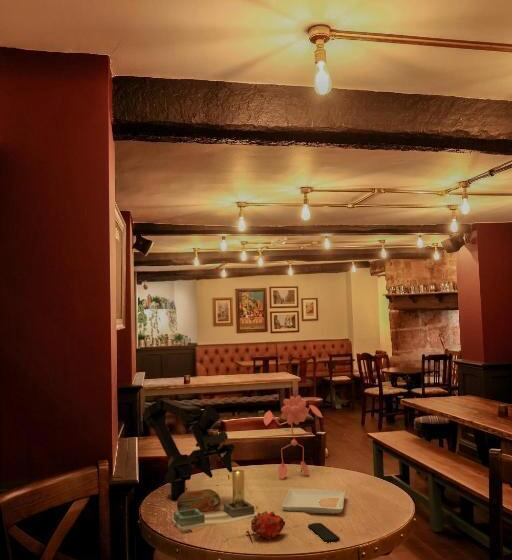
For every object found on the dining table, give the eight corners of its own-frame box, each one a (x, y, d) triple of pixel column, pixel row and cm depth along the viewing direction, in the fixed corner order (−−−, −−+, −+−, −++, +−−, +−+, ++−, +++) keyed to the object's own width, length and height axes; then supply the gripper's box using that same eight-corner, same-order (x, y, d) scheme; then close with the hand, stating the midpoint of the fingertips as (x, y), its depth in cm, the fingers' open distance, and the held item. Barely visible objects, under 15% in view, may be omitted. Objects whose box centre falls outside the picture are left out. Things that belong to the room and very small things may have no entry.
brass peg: (231, 511, 198) (230, 470, 199) (241, 510, 200) (241, 469, 201) (235, 515, 195) (235, 473, 196) (246, 513, 196) (245, 471, 197)
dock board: (171, 522, 192) (171, 511, 192) (247, 509, 204) (247, 498, 204) (182, 533, 181) (182, 521, 182) (262, 518, 193) (261, 508, 194)
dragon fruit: (247, 545, 174) (282, 544, 179) (258, 535, 169) (294, 534, 173) (243, 517, 180) (277, 517, 184) (254, 506, 174) (288, 506, 179)
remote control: (341, 544, 171) (321, 526, 186) (341, 538, 171) (320, 520, 186) (326, 547, 170) (306, 528, 184) (325, 540, 170) (306, 522, 184)
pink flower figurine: (261, 477, 246) (260, 395, 248) (317, 472, 253) (315, 392, 255) (273, 487, 231) (272, 400, 233) (331, 481, 239) (330, 396, 241)
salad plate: (343, 518, 193) (343, 507, 193) (281, 515, 197) (280, 505, 198) (346, 499, 214) (345, 490, 214) (289, 497, 218) (289, 488, 218)
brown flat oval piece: (177, 518, 195) (177, 493, 196) (176, 516, 198) (176, 491, 199) (220, 514, 199) (220, 489, 200) (218, 511, 202) (218, 486, 203)
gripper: (193, 427, 201) (212, 467, 192) (232, 420, 214) (252, 457, 205) (178, 445, 206) (197, 484, 198) (218, 437, 219) (236, 474, 211)
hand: (221, 474), depth 203 cm, fingers open, 9 cm apart
